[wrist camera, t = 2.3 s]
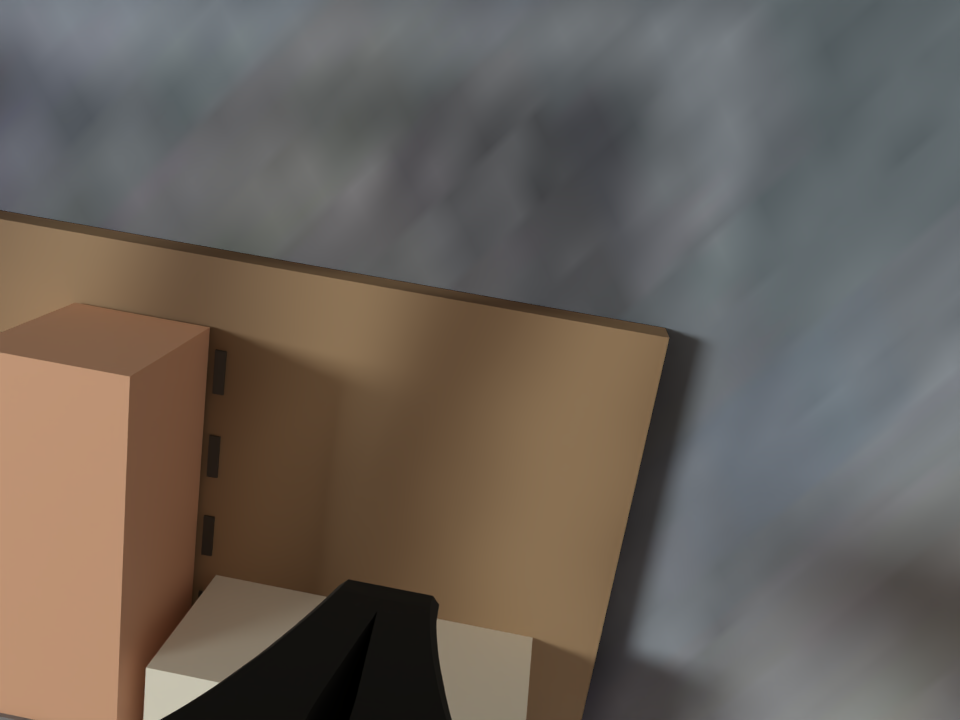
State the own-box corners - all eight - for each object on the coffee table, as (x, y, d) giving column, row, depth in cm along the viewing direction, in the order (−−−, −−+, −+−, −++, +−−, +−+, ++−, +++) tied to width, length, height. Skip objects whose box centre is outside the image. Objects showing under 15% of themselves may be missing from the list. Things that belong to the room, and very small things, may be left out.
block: (209, 327, 19) (127, 378, 15) (184, 714, 21) (110, 830, 18) (-59, 278, 19) (-199, 317, 15) (-48, 666, 22) (-164, 771, 18)
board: (665, 328, 18) (669, 338, 18) (554, 813, 22) (553, 840, 21) (-307, 156, 20) (-345, 158, 19) (-253, 645, 23) (-283, 664, 23)
